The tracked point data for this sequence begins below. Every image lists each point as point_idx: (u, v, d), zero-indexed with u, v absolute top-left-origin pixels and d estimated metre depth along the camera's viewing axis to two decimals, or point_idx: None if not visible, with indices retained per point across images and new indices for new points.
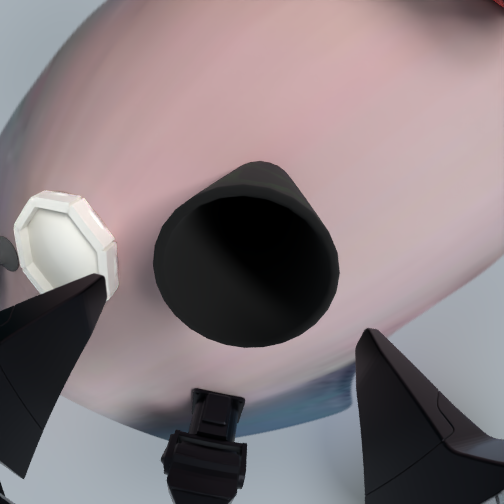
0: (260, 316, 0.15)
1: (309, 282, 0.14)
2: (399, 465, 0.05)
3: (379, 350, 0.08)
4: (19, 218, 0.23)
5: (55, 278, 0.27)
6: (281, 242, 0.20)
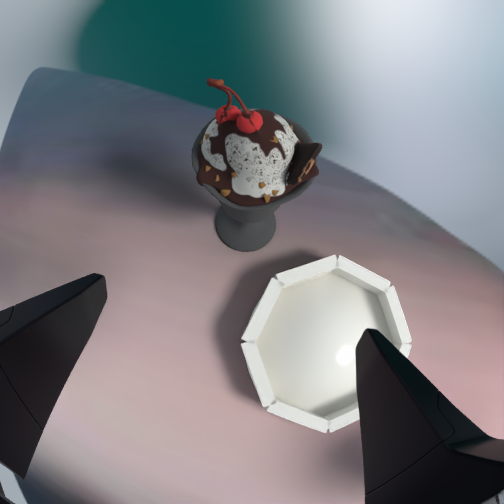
0: None
1: None
2: (400, 465, 0.05)
3: (379, 350, 0.08)
4: (355, 265, 0.22)
5: (279, 337, 0.21)
6: None
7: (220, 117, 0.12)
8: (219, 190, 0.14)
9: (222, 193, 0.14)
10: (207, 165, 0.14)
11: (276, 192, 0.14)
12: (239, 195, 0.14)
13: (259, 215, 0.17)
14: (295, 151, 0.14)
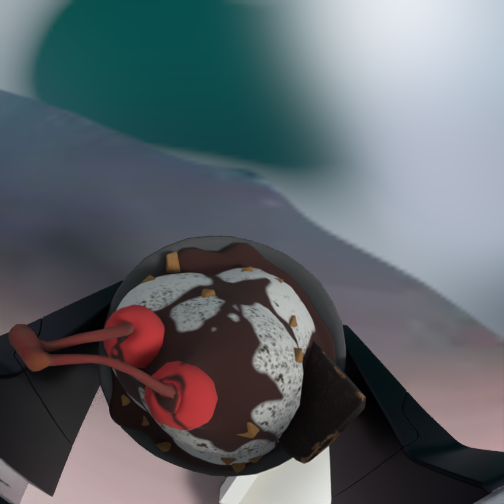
0: None
1: None
2: (363, 468, 0.05)
3: None
4: None
5: (267, 491, 0.13)
6: None
7: (113, 355, 0.04)
8: (152, 438, 0.06)
9: (158, 445, 0.06)
10: (124, 395, 0.06)
11: (257, 458, 0.06)
12: (187, 454, 0.06)
13: None
14: (304, 370, 0.07)
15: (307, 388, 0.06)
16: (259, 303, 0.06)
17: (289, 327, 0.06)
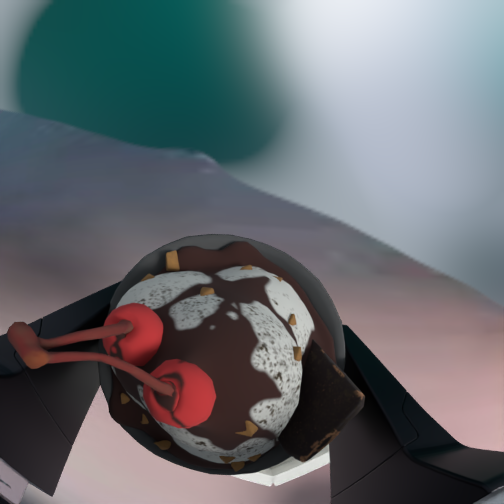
0: None
1: None
2: (363, 469, 0.05)
3: (345, 346, 0.08)
4: None
5: None
6: None
7: (112, 354, 0.04)
8: (152, 437, 0.06)
9: (157, 444, 0.06)
10: (123, 393, 0.06)
11: (256, 457, 0.06)
12: (187, 452, 0.06)
13: None
14: (303, 369, 0.07)
15: (306, 387, 0.06)
16: (258, 301, 0.06)
17: (288, 325, 0.06)
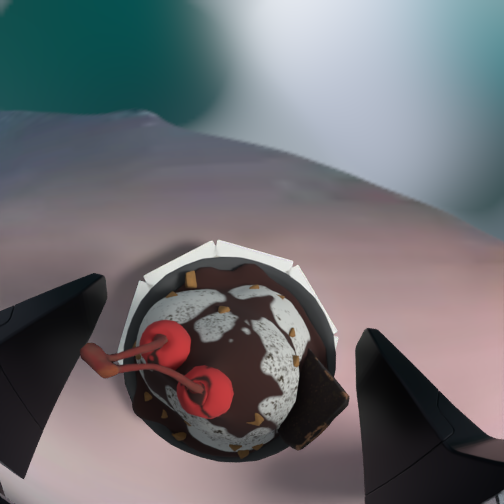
0: None
1: None
2: (399, 465, 0.05)
3: (379, 350, 0.08)
4: (240, 249, 0.19)
5: None
6: None
7: (149, 360, 0.06)
8: (169, 429, 0.08)
9: (174, 435, 0.08)
10: (146, 392, 0.08)
11: (259, 446, 0.07)
12: (199, 442, 0.07)
13: None
14: (300, 373, 0.08)
15: (302, 387, 0.08)
16: (265, 318, 0.08)
17: (288, 337, 0.08)
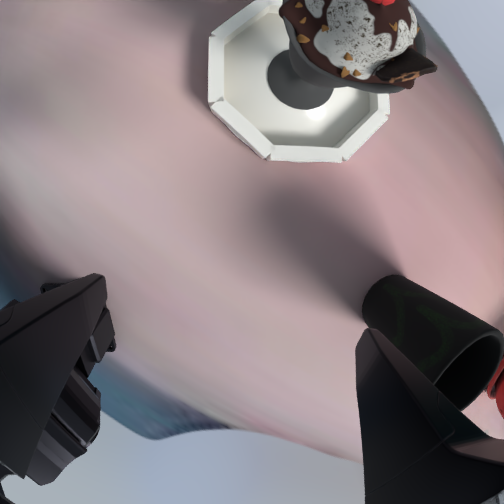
0: None
1: None
2: (400, 465, 0.05)
3: (379, 350, 0.08)
4: None
5: (250, 49, 0.17)
6: None
7: None
8: (297, 33, 0.09)
9: (299, 38, 0.09)
10: (300, 2, 0.08)
11: (358, 74, 0.09)
12: (316, 50, 0.09)
13: (322, 81, 0.12)
14: (403, 52, 0.09)
15: (404, 57, 0.08)
16: None
17: None
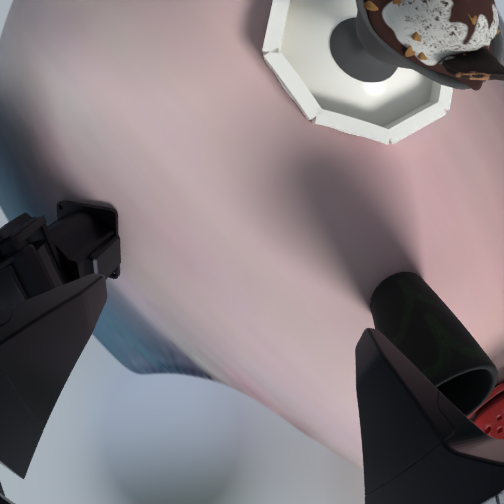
0: None
1: None
2: (400, 465, 0.05)
3: (379, 350, 0.08)
4: None
5: (318, 8, 0.14)
6: None
7: None
8: None
9: (367, 4, 0.06)
10: None
11: (423, 58, 0.07)
12: (383, 21, 0.07)
13: (384, 56, 0.10)
14: (477, 50, 0.06)
15: (477, 55, 0.06)
16: None
17: None
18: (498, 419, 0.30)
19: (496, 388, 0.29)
